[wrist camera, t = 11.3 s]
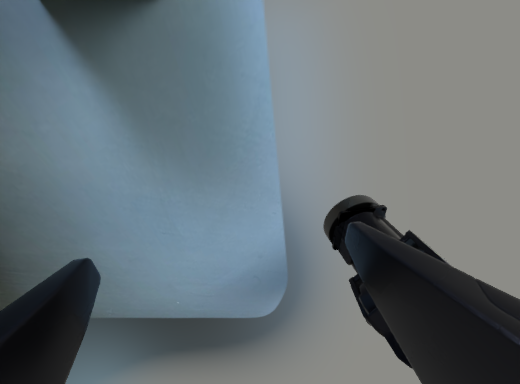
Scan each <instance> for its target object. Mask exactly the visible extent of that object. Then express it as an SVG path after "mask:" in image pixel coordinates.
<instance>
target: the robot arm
mask: <svg viewBox="0 0 520 384" xmlns="http://www.w3.org/2000/svg"><path fill="white" fill-rule="evenodd" d="M386 210H387V208H386V207H385V206H384V205H379V206H372V207H365V208H358V209H351V210H344V211H341V212H339V213H338V217H337V223H336V227H335V230H334V235H333V241H332V242H333V243H332V248H333V249H334V250H338V251H339V252H340V254H341V255H342V256H343V258H344V260H345V261H346V263H347V264H348V265H352V266H353V268H354V269H355V271H356V272H357V275H356V276H354V277H352V278H350V279H349V282H350V284H351V288H352V290H353V293H354V295H355V297H356V300H357V302H358V304H359V307H360V309H361V312H362V314H363V316H364V318H365V319H366V322H367V323H368V324H369V325H371V326H373V327H374V329H375V330H376V331H377V332H378V333H379V334H381V335H382V336H384V337H385V338H386V340H387V342H388V343H389V345H390V346H391V348H392V349H393V351H394V353H395V354H396V356H397V357H398V358H399V359H400V360H401V361H402V362H404V363H405V364H406V365H408V366H409V367H410V368H413V370H414V371H415V373H416V375H417V376H418V378H419V380H420V381H421V383H422V384H520V299H518V298H516V297H513V296H511V295H509V294H507V293H505V292H503V291H501V290H499V289H497V288H495V287H493V286H491V285H488V284H486V283H484V282H482V281H481V280H478V279H475V278H474V277H472V276H470V275H468V274H466V273H464V272H462V271H460V270H458V269H456V268H454V267H453V266H452V265H450V264H449V263H448V262H447V261H446V260H445V259H444V258H442V257H441V256H440V255H439V254H438V253H437V252H435V251H434V250H433V249H432V248H431V247H429V246H428V245H427V244H426V243H424V242H423V241H422V240H421V239H420V238H418V237H417V236H416V235H415V234H414V233H412V232H411V231H410V230H409V231H408V232H406V234H405V235H404V236H403V235H402V234H401V233H400V232H399V231H398V230H397V229H395V227H394V226H392V225H391V224H390V223H389V222H388V221H387V220H386V219H385V218H384V216H385V213H386ZM100 280H101V277H100V274H99V272H98V270H97V269H96V267H95V265H94V264H93V262H92V260H91V259H89V258H83V259H76V260H73V261H71V262H70V263H68V264H67V265H66V266H64V267H63V268H61V269H60V270H58V271H57V272H56V273H54V274H53V275H51V276H50V277H48V278H47V279H46V280H44V281H43V282H41V283H40V284H38V285H37V286H36V287H34V288H33V289H31V290H30V291H28V292H27V293H26V294H24V295H23V296H21V297H20V298H18V299H17V300H15V301H14V302H13V303H11V304H10V305H8V306H7V307H5V308H4V309H3V310H1V311H0V384H65V382H66V380H67V378H68V375H69V372H70V370H71V367H72V365H73V363H74V360H75V358H76V355H77V352H78V350H79V347H80V345H81V342H82V340H83V337H84V334H85V332H86V329H87V326H88V323H89V319H90V316H91V313H92V309H93V306H94V302H95V299H96V295H97V292H98V288H99V285H100Z"/></svg>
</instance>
